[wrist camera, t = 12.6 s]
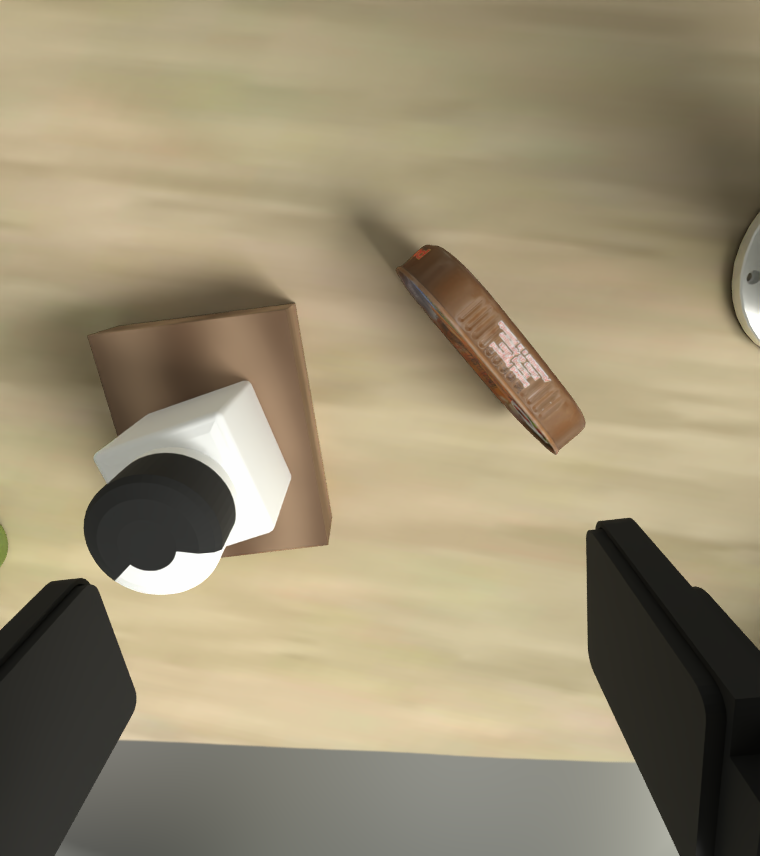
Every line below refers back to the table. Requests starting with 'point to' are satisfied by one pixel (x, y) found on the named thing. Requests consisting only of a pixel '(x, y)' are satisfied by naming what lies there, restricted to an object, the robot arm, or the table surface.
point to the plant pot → (3, 545)
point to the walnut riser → (217, 368)
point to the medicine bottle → (185, 490)
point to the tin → (492, 345)
